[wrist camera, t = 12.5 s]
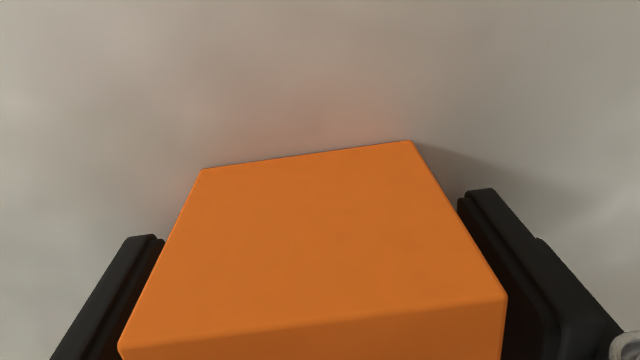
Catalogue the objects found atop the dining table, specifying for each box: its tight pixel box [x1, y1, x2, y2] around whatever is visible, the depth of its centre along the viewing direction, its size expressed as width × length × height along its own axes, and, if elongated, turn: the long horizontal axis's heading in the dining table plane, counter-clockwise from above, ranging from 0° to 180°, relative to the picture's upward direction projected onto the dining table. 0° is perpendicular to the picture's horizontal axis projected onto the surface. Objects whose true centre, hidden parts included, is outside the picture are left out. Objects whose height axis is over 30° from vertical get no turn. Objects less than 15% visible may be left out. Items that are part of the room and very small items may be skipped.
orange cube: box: [117, 140, 508, 360], centre depth 8 cm, size 5×5×5 cm
